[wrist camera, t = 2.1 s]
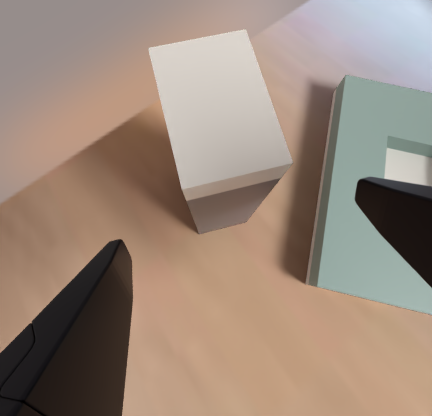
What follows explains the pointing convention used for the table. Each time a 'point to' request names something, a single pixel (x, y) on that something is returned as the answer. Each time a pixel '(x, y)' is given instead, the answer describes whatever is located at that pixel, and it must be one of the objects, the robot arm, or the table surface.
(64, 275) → the table surface
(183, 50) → the block
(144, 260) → the table surface
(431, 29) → the table surface
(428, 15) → the table surface
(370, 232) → the pocket plate
